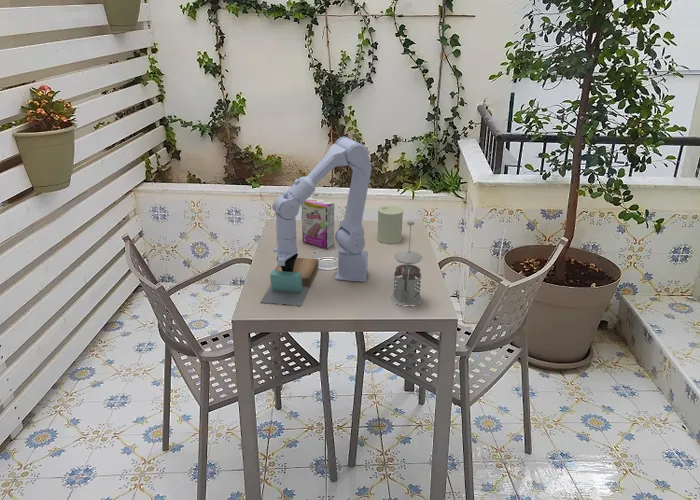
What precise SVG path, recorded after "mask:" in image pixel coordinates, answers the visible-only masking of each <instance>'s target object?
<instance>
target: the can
mask: <svg viewBox="0 0 700 500" xmlns="http://www.w3.org/2000/svg"><path fill="white" fill-rule="evenodd" d="M377 213H378V214H377V235H376V240H377V241H378V242H380V243H381V244H387V245H393V244H399V243H400V242H401V241H402V240H403V239H402V238H403V237H402V234H403V218H404V217H403V215H404V209H403V208H402V207H401V206H396V205H383V206H380V207H379V208H378V209H377Z"/></svg>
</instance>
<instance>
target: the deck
mask: <svg viewBox="0 0 700 500" xmlns="http://www.w3.org/2000/svg"><path fill="white" fill-rule="evenodd" d="M319 265H320V264H319V259H318V258H305V257H297V258H296V261H295V264H294V269H293V272H298V273H301V278H302V286H309V288H310V287H311V284H312V282H313V280H314V278H315V276H316V274H317V271H318V269H319V268H318V267H320V266H319ZM273 271H282V268H281V266H278V264H277V266H276V267H275V269H274V270H273Z"/></svg>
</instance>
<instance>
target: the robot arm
mask: <svg viewBox="0 0 700 500" xmlns="http://www.w3.org/2000/svg"><path fill="white" fill-rule="evenodd" d="M369 154H370V150H369V149H368V148H367V147H366V146H365V145H364V144H363V143H361V142H358V141H356V140H353V139H351V138H350V137H349V136H348V137H347V136H341V137H339V138H338V139H337V140H335V142H334V143H332V144H331V146H330V147H329V150H328V152H327V153H326V154H325V155H324V156H323V157H322V159H321V160H320V161H319V162H318V163H317V164H316V165H315V167H314V168H313V169H312V170H311V171H310V172H309V174H308V175H307V176H306V175H305V176H300V177H299V178H296V179H295V180H294V183H293V184H292V185H291V186H290V187H289V188H288V189H287V190H286V191H284V192H283V193H282V194H281V195H278V196H277V197H276V198H274V201H273V202H274V203H273V204H272V209H273V211H274V212H275V224H276V226H275V227H276V228H275V229H276V245H277V246H276V247H274V248H273V252H274V253H276V254H277V256H276V262H277V265H278V266H281V268H282V271H285V272H293V269H294V264H295V261H296V258H298V256H299V254H298V245H297V222H296V221H297V218H296V216H298V214H299V211H300V208H301V207H302V204H303V203H304V202H305V201H306V200H307V199H308V198H309V197H311V195H312V194H314V192H316V185H317V184H319V182H320V181H321V180H322V179H323V178H325V177H326V176H327V175H328V174H329V173H330V172H332V170H334V169H335V168H336V167H347V166H349V167H350V169H351V170H352V175H351V180H350V185H349V190H348V196H347V201H346V208H345V212H344V218H343V220H341V221H340V222H339V226H338V228H337V229H336V231H335V232H334V241H335V242H336V243H337V244H338V246H337V247H338V252H337V254H338V255H337V257H338V261H337V262H338V263H337V264H338V265H337V266H338V267H337V269H338V270H337V273H336V276H335V277H334V278H335V280H336V281H337V280H338V281H351V282H361V283H363V282H366V279H367V276H368V273H369V265H368V263H369V262H368V261H369V251H368V250H365V247H366V241H365V229H364V227H363V224H362V221H363V217H364V211H365V206H366V201H367V195H368V190H369V184H370V178H371V174H372V168H373V167H372V162H371V160H370V159H371V158H370V157H369Z"/></svg>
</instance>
